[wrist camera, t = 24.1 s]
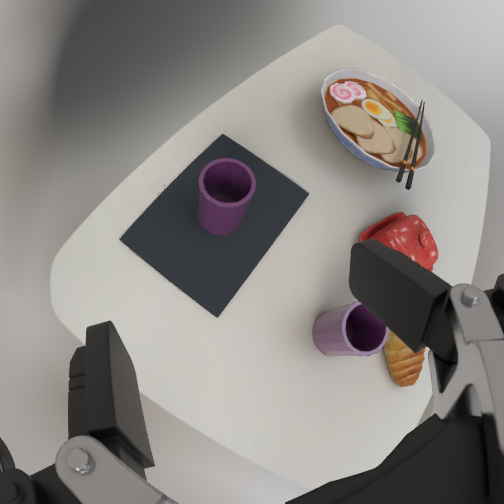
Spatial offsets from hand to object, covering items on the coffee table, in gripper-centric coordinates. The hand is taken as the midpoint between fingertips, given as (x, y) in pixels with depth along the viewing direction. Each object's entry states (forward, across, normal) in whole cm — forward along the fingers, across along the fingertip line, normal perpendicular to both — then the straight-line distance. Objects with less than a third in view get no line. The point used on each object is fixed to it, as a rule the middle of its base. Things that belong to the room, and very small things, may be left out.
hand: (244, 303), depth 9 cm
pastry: (+12, -25, +29) cm, 40 cm away
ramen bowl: (+37, -37, +4) cm, 52 cm away
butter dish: (+21, -31, +20) cm, 42 cm away
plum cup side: (+17, -16, +24) cm, 33 cm away
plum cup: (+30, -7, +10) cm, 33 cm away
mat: (+31, -7, +10) cm, 33 cm away
